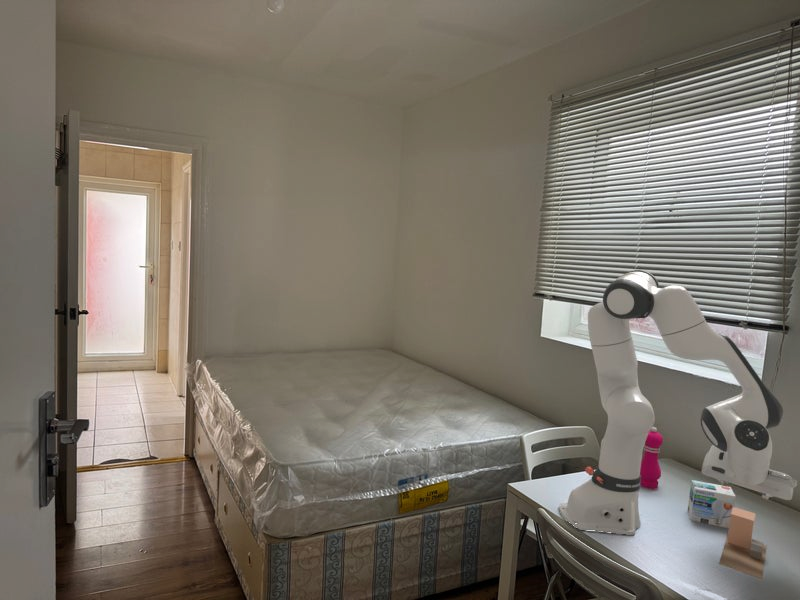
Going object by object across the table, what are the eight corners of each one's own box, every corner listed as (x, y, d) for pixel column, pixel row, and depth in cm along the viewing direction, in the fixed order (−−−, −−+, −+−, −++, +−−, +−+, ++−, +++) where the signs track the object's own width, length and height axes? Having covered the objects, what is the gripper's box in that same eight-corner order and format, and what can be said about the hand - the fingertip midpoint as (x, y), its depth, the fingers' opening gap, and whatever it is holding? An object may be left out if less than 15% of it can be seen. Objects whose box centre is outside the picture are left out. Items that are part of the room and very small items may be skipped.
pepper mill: (663, 490, 176) (670, 431, 174) (641, 489, 176) (648, 430, 174) (653, 480, 183) (660, 424, 181) (632, 479, 184) (638, 422, 181)
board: (761, 582, 129) (763, 565, 128) (718, 567, 134) (720, 550, 134) (766, 549, 144) (768, 533, 144) (727, 536, 149) (729, 521, 149)
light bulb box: (689, 523, 156) (694, 488, 154) (686, 513, 162) (690, 478, 161) (731, 532, 152) (736, 496, 151) (726, 521, 158) (731, 486, 157)
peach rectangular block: (749, 549, 142) (754, 520, 141) (727, 542, 145) (730, 513, 144) (751, 541, 146) (755, 513, 145) (729, 534, 149) (733, 506, 148)
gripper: (800, 468, 131) (793, 493, 140) (705, 442, 143) (704, 466, 152) (796, 491, 128) (789, 515, 137) (700, 463, 140) (699, 486, 149)
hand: (744, 489), depth 144 cm, fingers open, 8 cm apart
